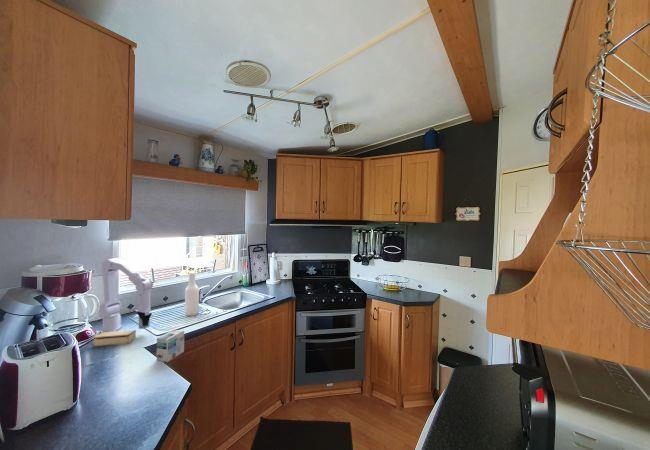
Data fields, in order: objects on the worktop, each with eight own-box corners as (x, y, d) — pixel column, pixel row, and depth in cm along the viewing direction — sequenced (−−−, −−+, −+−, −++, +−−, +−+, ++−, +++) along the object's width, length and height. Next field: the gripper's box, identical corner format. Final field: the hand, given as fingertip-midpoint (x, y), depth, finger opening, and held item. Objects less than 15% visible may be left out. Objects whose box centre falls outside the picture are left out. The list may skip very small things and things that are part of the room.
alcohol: (193, 311, 187) (193, 270, 187) (201, 312, 184) (201, 271, 183) (182, 314, 179) (182, 272, 179) (190, 316, 176) (190, 273, 175)
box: (102, 339, 141) (102, 333, 141) (135, 336, 145) (135, 330, 144) (93, 346, 133) (93, 339, 133) (128, 343, 137) (128, 336, 137)
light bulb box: (167, 362, 119) (167, 339, 118) (155, 360, 120) (155, 338, 120) (184, 351, 129) (184, 330, 129) (173, 349, 130) (173, 329, 130)
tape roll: (141, 325, 149) (141, 317, 149) (151, 324, 150) (151, 316, 150) (136, 329, 144) (136, 320, 144) (147, 328, 145) (147, 319, 145)
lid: (102, 333, 141) (102, 332, 141) (135, 330, 144) (135, 329, 145) (93, 338, 133) (93, 337, 133) (128, 335, 137) (128, 334, 137)
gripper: (133, 299, 149) (132, 322, 149) (138, 305, 139) (138, 330, 139) (147, 297, 154) (147, 319, 154) (153, 302, 144) (153, 326, 145)
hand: (144, 324), depth 147 cm, fingers closed on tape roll, 5 cm apart
